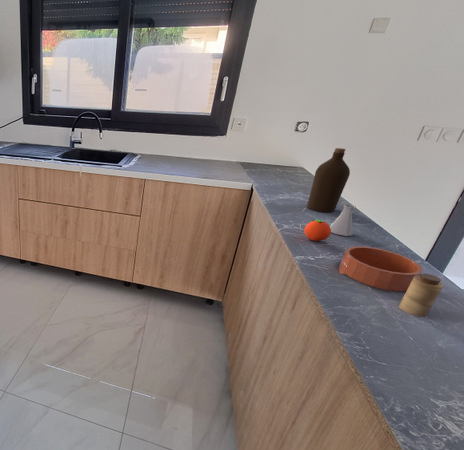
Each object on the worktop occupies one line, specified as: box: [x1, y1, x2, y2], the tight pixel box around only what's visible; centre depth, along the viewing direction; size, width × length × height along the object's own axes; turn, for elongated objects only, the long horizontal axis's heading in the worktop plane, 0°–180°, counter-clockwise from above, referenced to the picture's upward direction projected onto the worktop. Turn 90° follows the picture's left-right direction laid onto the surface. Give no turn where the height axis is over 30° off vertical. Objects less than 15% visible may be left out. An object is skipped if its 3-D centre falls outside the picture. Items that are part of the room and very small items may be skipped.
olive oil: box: [306, 147, 351, 213], centre depth 126 cm, size 11×11×25 cm
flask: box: [329, 203, 357, 237], centre depth 108 cm, size 7×7×10 cm
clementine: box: [303, 219, 332, 242], centre depth 104 cm, size 8×7×7 cm
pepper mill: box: [398, 272, 444, 317], centre depth 69 cm, size 4×4×10 cm
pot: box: [338, 245, 424, 292], centre depth 83 cm, size 15×15×6 cm
